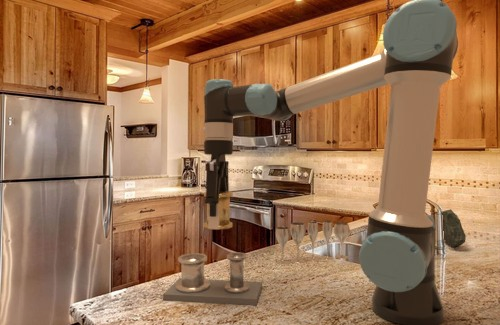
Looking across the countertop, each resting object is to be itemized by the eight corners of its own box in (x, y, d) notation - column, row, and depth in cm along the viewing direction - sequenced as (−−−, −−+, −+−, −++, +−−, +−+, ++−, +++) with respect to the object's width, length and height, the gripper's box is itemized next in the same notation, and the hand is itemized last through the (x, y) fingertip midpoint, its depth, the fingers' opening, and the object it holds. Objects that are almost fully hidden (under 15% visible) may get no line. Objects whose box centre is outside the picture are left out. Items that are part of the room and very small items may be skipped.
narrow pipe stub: (250, 285, 96) (250, 252, 96) (246, 294, 89) (246, 258, 89) (227, 284, 97) (227, 251, 96) (222, 292, 90) (221, 257, 90)
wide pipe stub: (213, 281, 99) (213, 253, 98) (204, 294, 90) (204, 262, 90) (182, 280, 100) (182, 252, 100) (170, 292, 91) (170, 261, 91)
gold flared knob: (235, 224, 97) (235, 191, 97) (228, 230, 90) (229, 194, 89) (208, 223, 98) (208, 190, 98) (200, 228, 91) (200, 193, 91)
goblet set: (279, 265, 118) (279, 226, 118) (273, 260, 123) (273, 223, 123) (353, 258, 125) (353, 221, 125) (344, 254, 131) (344, 218, 131)
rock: (443, 249, 148) (433, 216, 152) (459, 247, 146) (448, 213, 151) (452, 247, 132) (441, 209, 136) (470, 244, 130) (458, 206, 135)
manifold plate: (262, 287, 98) (262, 282, 98) (256, 305, 86) (256, 299, 86) (179, 283, 102) (179, 278, 102) (163, 300, 90) (162, 294, 90)
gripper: (214, 141, 104) (214, 218, 105) (192, 137, 84) (191, 233, 84) (239, 141, 103) (239, 219, 103) (223, 138, 83) (222, 235, 83)
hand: (217, 225), depth 94 cm, fingers closed on gold flared knob, 8 cm apart
